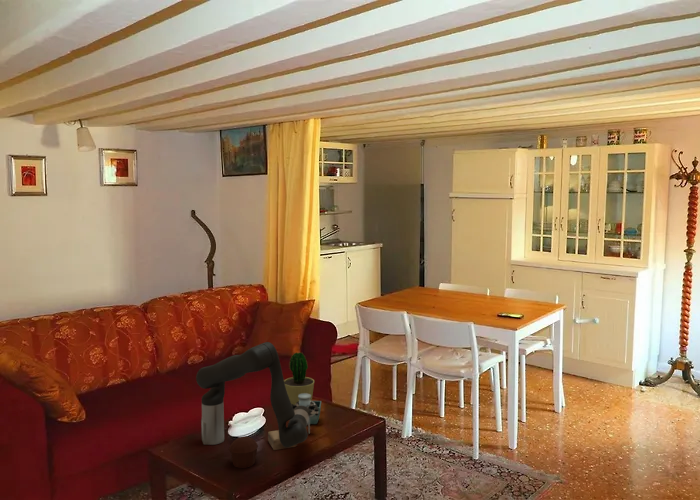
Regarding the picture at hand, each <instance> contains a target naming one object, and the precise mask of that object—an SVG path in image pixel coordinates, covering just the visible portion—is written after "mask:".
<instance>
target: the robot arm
mask: <svg viewBox="0 0 700 500" xmlns="http://www.w3.org/2000/svg"><path fill="white" fill-rule="evenodd" d="M267 368H268V369H269V371H270V372H269V373H270V376H271V386H270V398H269V399H270V403H271V404H270V405H271V408H272V411H273V412H274V415H275V418H276V422H277V426H278V427H277V428H278V430H279V439H280V442H281V444H282V445H283V446H284V447H290V448H292V447H291V446H293V445H296V444H297V445H298V444H301V443H303V442H305V441H306V440H307V438H308V435H309V434H308V430H307V426H308V425H307V424H308V422H309V419H310V416H311V415H312V414H315V415H318V407H317V405H314V403H312V401H313V400H312V401H311V402H310V405H307V406H306V407H305V406H300V405H299V401H298V402H297V403H296V404H295V405H294V404H291V402H290V399H289V396H288V394H287V391H286V387H285V383H284V380H285V378H284V374H283V370H282V365H281V362H280V357H279V354H278V351H277V349H276V347H275V345H274V344H273V343H272V342H269V341H265V342H263V343H260V344H257V345H254V346H253V347H251V348H249V349H247V350H246V351H245V352H243V353H241V354H235V355H231V356H228V357H227V358H225V359H222V360H220V361H218V362H216V363H214V364H212V365H208V366H204V367H201V368H199V370H197V373H196V375H195V376H196V377H195V380H196V384H197V385H198V387H200V388H201V389H203V390H204V389H205V390H206V389H208V391H207V392H205V393H204V394H203V395H202V396H201V418H200V419H201V420H200V423H201V425H200V426H201V441H202V444H203V445H209V446H210V445H211V446H214V445H218V444H219V445H220V444H221V443H224V441H225V413H224V411H225V410H224V409H225V407H224V403H225V402H224V400H225V399H224V398H225V395H226V394H225V393H226V391H225V390H226V389H225V388H226V387H225V386H226V382H230V381H234V380H235V381H236V380H237V379H240V378H242V377H244V376H245V375H246V374H247V373H248V374H249V373H255V372H256V373H257V372H260V371H262V370H265V369H267ZM312 410H313V411H312ZM287 422H288V423H287Z"/></svg>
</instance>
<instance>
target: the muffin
mask: <svg viewBox="0 0 700 500" xmlns="http://www.w3.org/2000/svg"><path fill="white" fill-rule="evenodd" d="M258 447H259V445H258V443H257V441H256V440H255V439H253V438H252V437H251V436H250V437H249V436H240V437H238V438H236V439H235V440H233V442H231V443H230V445H229V447H228V450H229V452H230V455H231V460H232V464H233V467H236V468H237V469H242V468H243V469H247V468H249V467H253V465H255V464H256V459H257V452H258Z"/></svg>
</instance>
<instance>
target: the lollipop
mask: <svg viewBox="0 0 700 500" xmlns="http://www.w3.org/2000/svg"><path fill="white" fill-rule="evenodd" d="M313 401H314V400H312V403H314V402H313ZM310 402H311V401H310ZM314 405H316V404H315V403H314ZM312 411H313V410H312ZM314 415H315V414H312V415H311V416H310V417H312V416H314ZM307 426H308V427H307V428H308V430H307V434H308V435H309V434H311V424H308V425H307Z"/></svg>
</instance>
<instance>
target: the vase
mask: <svg viewBox="0 0 700 500" xmlns="http://www.w3.org/2000/svg"><path fill="white" fill-rule="evenodd" d="M298 398H299V405H300V406H305V407H306V406H307V405H310V398H311V395H310V394H307V393H302V394H299V395H298ZM308 424H310V419H309V422H308ZM308 424H307V426H308ZM310 425H311V424H310Z"/></svg>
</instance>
